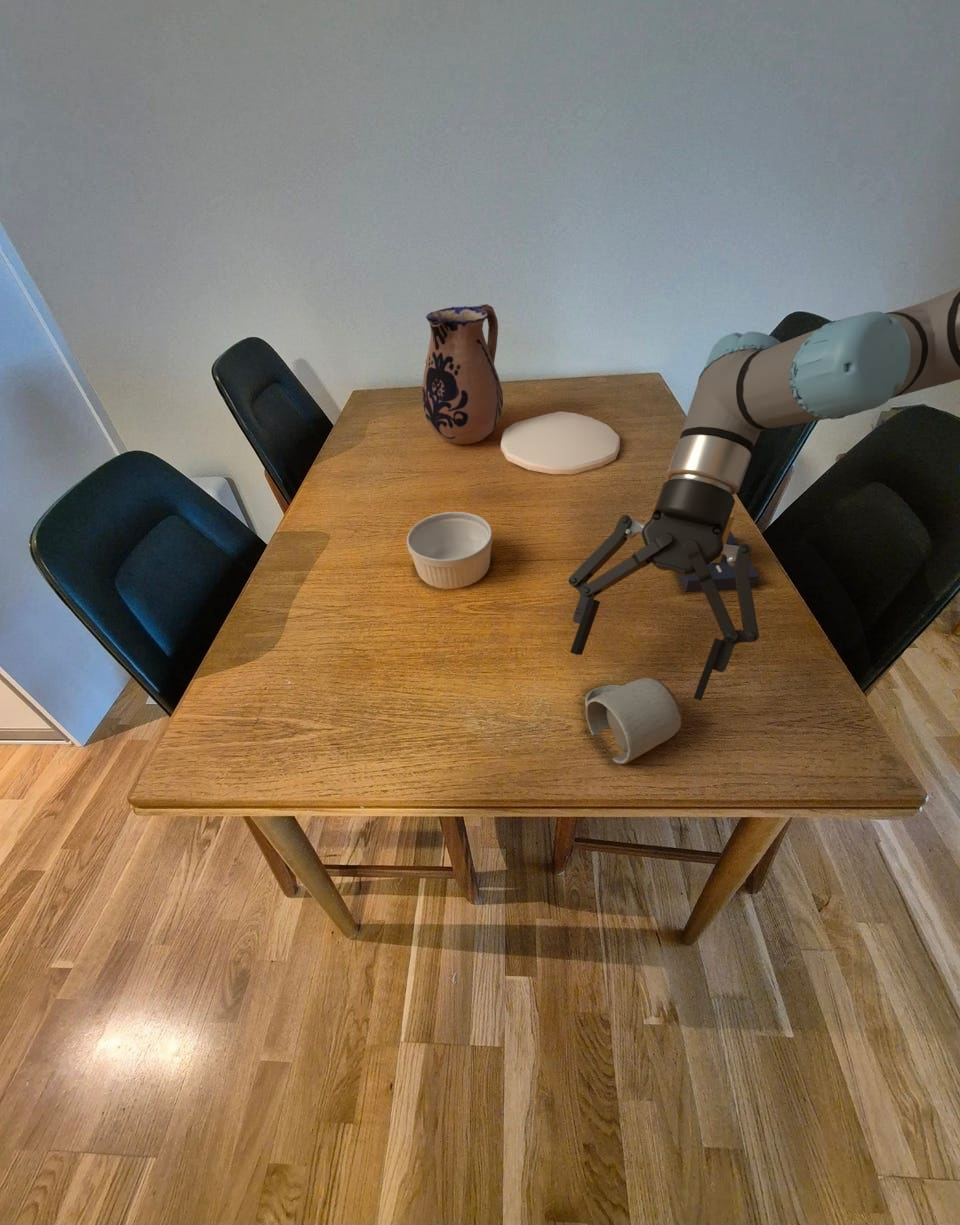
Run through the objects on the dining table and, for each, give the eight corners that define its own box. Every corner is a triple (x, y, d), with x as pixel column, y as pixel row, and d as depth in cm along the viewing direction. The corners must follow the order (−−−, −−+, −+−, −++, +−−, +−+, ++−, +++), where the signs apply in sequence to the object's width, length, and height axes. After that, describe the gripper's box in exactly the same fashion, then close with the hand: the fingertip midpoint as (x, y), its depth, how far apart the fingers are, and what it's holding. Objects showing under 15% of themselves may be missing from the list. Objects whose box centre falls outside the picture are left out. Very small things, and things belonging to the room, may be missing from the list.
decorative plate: (481, 422, 116) (578, 397, 123) (482, 440, 119) (577, 414, 126) (535, 470, 99) (646, 438, 106) (535, 490, 102) (643, 457, 109)
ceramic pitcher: (413, 446, 120) (392, 324, 102) (461, 409, 132) (450, 295, 115) (480, 460, 113) (471, 331, 95) (524, 420, 125) (522, 300, 108)
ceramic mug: (681, 744, 60) (694, 702, 55) (623, 778, 58) (632, 737, 53) (619, 683, 67) (626, 640, 62) (566, 710, 65) (568, 668, 60)
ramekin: (456, 536, 93) (452, 501, 88) (511, 566, 86) (510, 531, 81) (397, 572, 87) (389, 537, 82) (451, 608, 79) (446, 572, 75)
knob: (720, 562, 78) (734, 515, 72) (710, 563, 78) (724, 515, 73) (708, 542, 82) (721, 495, 76) (699, 543, 82) (712, 496, 76)
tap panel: (753, 592, 78) (759, 575, 75) (684, 596, 78) (688, 580, 76) (724, 543, 86) (729, 527, 84) (662, 547, 87) (665, 531, 84)
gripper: (824, 524, 55) (753, 716, 56) (596, 475, 65) (541, 638, 67) (839, 506, 48) (758, 724, 50) (582, 454, 59) (521, 636, 60)
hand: (633, 675), depth 58 cm, fingers open, 13 cm apart
